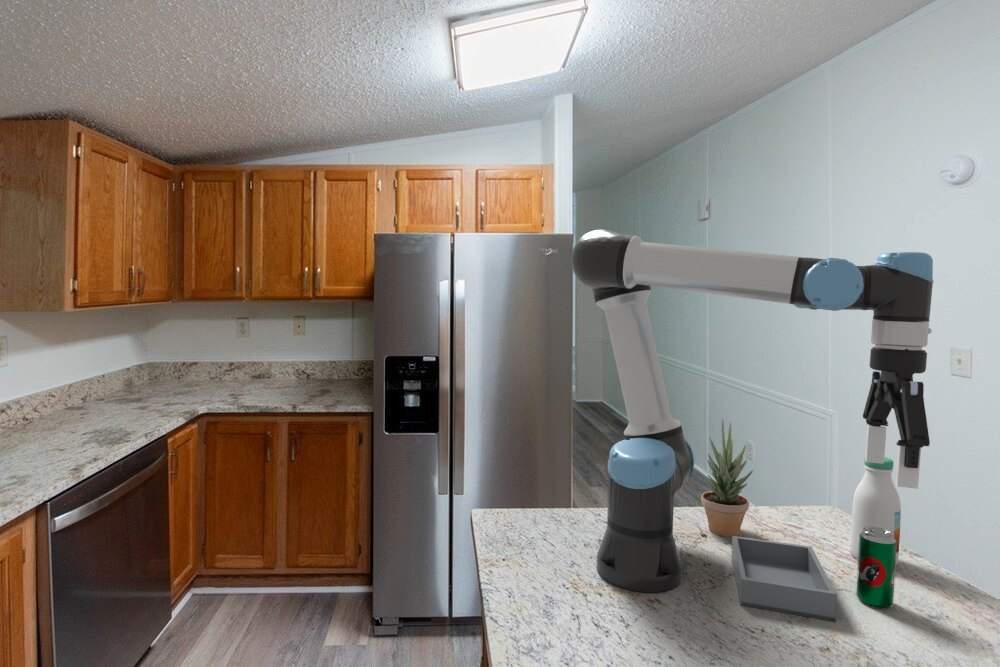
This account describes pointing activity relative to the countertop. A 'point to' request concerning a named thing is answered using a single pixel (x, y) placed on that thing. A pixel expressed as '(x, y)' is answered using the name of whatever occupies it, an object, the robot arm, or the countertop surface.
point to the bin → (782, 578)
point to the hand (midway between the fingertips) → (889, 474)
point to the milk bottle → (876, 504)
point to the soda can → (876, 567)
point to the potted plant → (726, 490)
